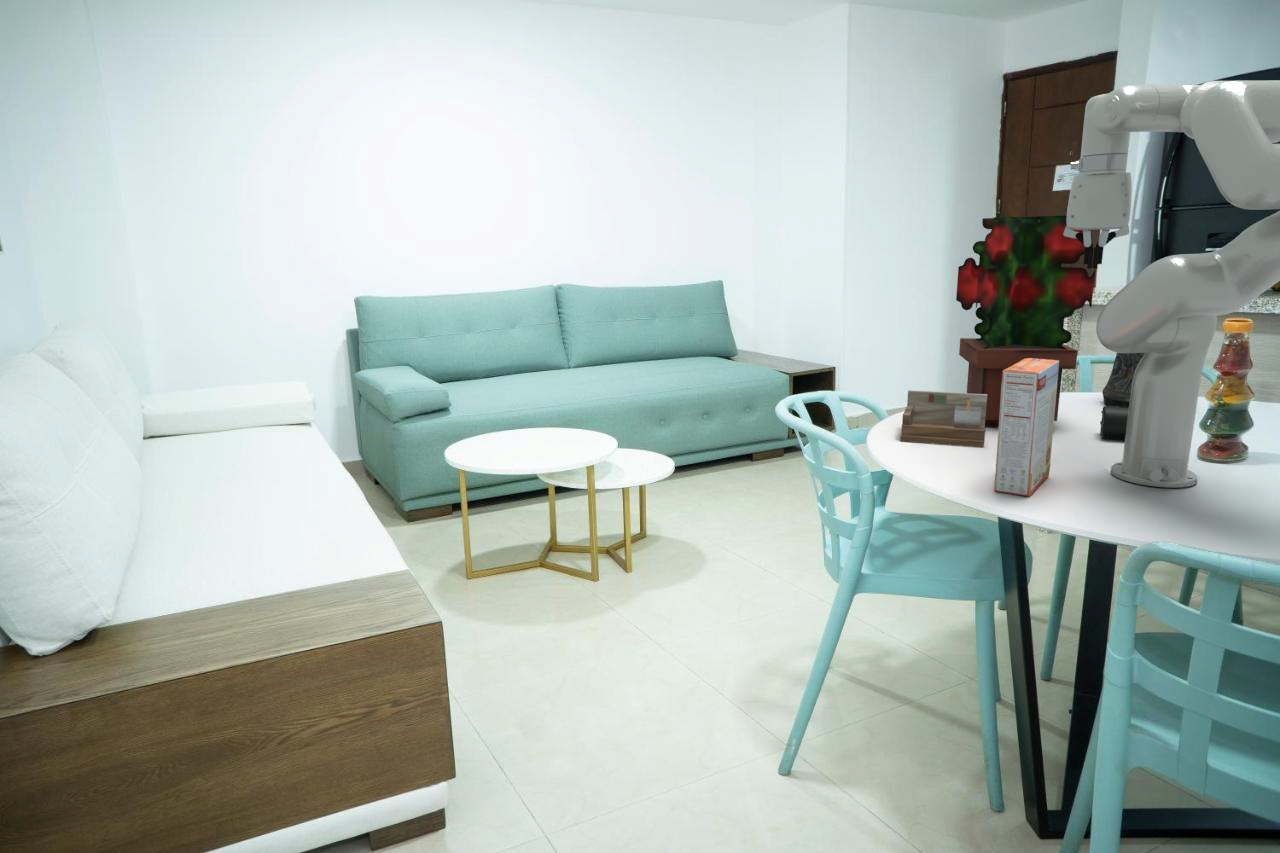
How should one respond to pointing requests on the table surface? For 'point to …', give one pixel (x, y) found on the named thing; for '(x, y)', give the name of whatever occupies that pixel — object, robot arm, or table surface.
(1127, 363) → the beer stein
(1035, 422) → the cracker box
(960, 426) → the white block with knob
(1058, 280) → the potted plant
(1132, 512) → the table surface
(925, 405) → the wooden toy tray
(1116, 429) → the end cap
